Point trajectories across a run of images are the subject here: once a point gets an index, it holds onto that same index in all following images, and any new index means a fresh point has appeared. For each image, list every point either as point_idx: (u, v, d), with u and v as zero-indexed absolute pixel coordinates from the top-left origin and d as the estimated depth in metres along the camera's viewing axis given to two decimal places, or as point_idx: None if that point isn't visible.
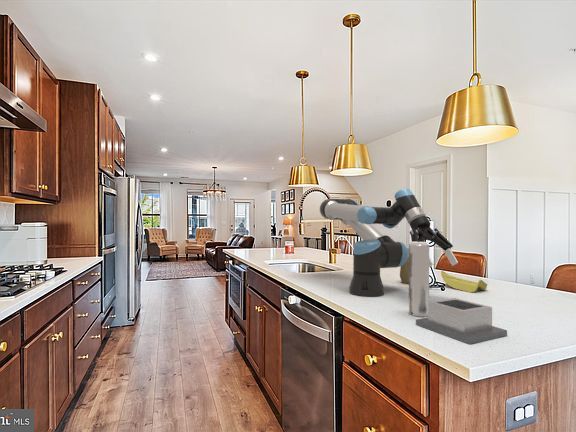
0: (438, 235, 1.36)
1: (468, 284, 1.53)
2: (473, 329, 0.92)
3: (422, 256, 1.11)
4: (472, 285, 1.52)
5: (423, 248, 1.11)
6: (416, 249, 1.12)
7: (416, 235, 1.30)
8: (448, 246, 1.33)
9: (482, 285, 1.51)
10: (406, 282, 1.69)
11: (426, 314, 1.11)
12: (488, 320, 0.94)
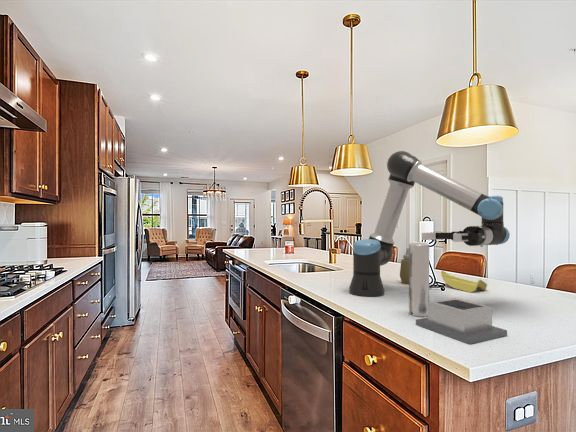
0: None
1: (468, 284, 1.54)
2: (473, 329, 0.92)
3: (422, 256, 1.11)
4: (472, 285, 1.52)
5: (423, 248, 1.11)
6: (416, 249, 1.12)
7: None
8: (435, 239, 1.28)
9: (482, 285, 1.52)
10: (406, 282, 1.69)
11: (426, 314, 1.11)
12: (488, 320, 0.94)
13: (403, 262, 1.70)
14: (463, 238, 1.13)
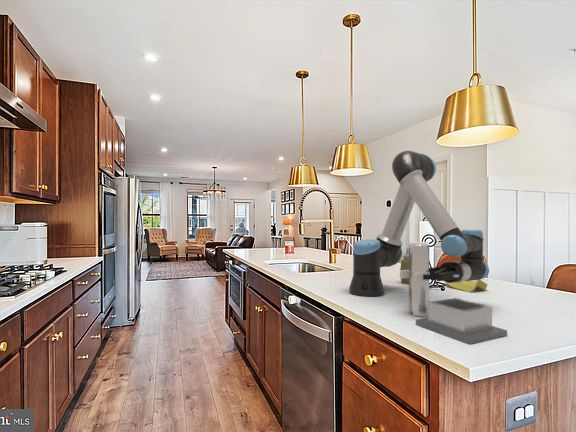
0: None
1: (467, 284, 1.54)
2: (473, 329, 0.92)
3: (422, 256, 1.11)
4: (470, 285, 1.53)
5: (423, 248, 1.11)
6: (416, 249, 1.12)
7: (449, 279, 1.13)
8: None
9: (481, 285, 1.52)
10: (406, 282, 1.69)
11: (426, 314, 1.11)
12: (488, 320, 0.94)
13: (403, 262, 1.70)
14: (424, 278, 1.10)
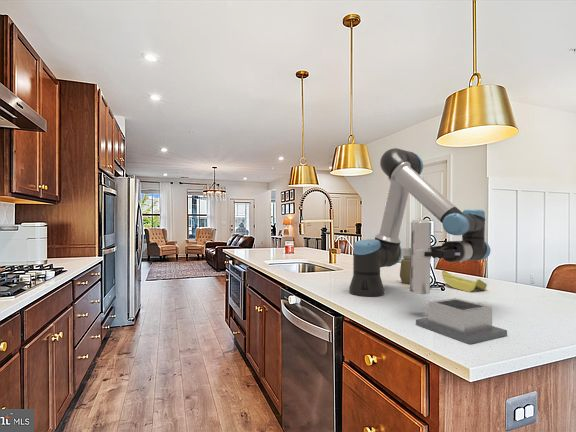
0: None
1: (466, 284, 1.54)
2: (473, 329, 0.92)
3: (424, 233, 1.11)
4: (470, 285, 1.53)
5: (425, 225, 1.11)
6: (418, 226, 1.11)
7: None
8: None
9: (481, 285, 1.52)
10: (406, 282, 1.69)
11: (427, 291, 1.11)
12: (488, 320, 0.94)
13: (403, 262, 1.70)
14: (425, 255, 1.10)
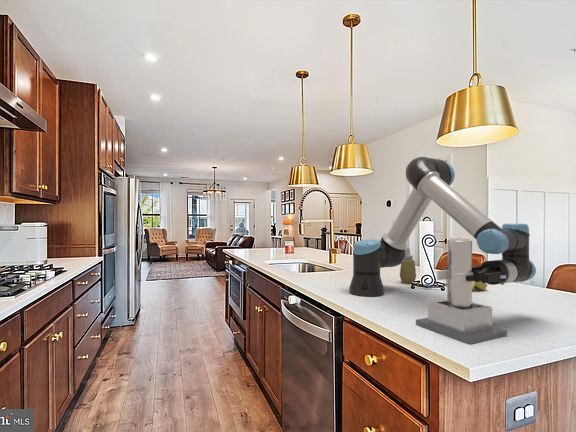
0: None
1: None
2: (473, 329, 0.92)
3: (464, 254, 0.95)
4: None
5: (466, 244, 0.95)
6: (457, 245, 0.96)
7: None
8: None
9: (480, 285, 1.52)
10: (406, 282, 1.69)
11: None
12: (488, 320, 0.94)
13: (403, 262, 1.70)
14: (467, 279, 0.94)
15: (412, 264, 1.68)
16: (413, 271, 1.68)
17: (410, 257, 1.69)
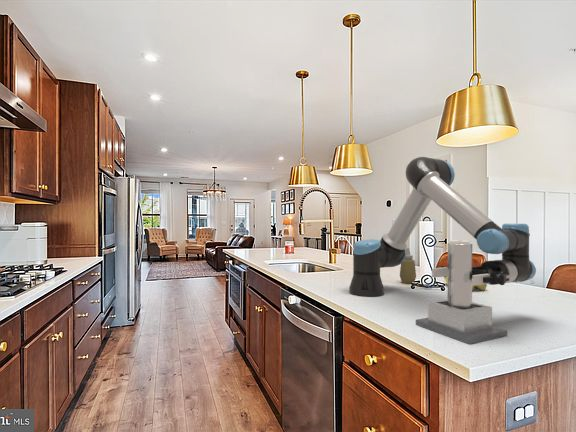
0: None
1: None
2: (473, 329, 0.92)
3: (465, 257, 0.95)
4: None
5: (466, 248, 0.95)
6: (457, 249, 0.96)
7: None
8: None
9: (480, 285, 1.52)
10: (406, 282, 1.69)
11: None
12: (488, 320, 0.94)
13: (403, 262, 1.70)
14: (485, 281, 0.91)
15: (412, 264, 1.68)
16: (413, 271, 1.68)
17: (410, 257, 1.69)
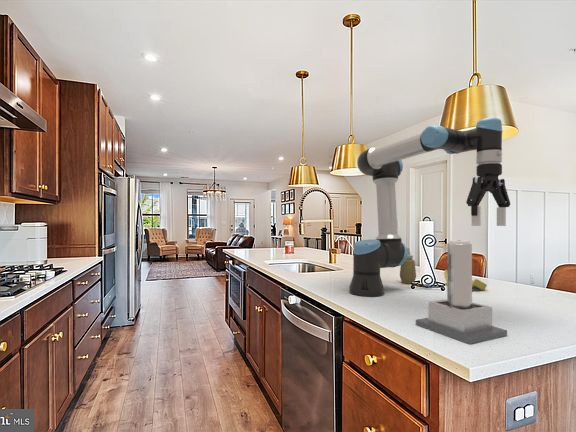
0: (501, 188, 1.16)
1: None
2: (473, 329, 0.92)
3: (464, 257, 0.95)
4: None
5: (465, 248, 0.95)
6: (457, 248, 0.96)
7: (479, 186, 1.10)
8: (505, 204, 1.16)
9: (479, 284, 1.53)
10: (406, 282, 1.69)
11: None
12: (488, 320, 0.94)
13: None
14: (474, 215, 1.10)
15: (412, 264, 1.68)
16: (413, 271, 1.68)
17: (410, 257, 1.69)
